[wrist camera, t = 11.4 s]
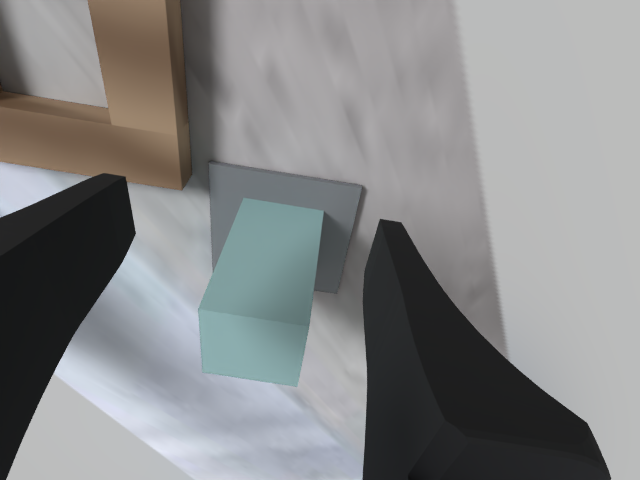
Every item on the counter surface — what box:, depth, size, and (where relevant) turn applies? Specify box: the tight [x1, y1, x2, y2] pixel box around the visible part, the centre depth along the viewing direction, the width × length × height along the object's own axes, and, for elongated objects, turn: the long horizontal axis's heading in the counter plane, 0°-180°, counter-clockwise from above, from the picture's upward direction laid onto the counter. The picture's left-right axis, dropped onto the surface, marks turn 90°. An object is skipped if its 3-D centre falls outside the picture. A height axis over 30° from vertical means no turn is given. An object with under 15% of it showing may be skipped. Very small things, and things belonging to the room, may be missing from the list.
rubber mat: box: [209, 161, 362, 294], centre depth 24 cm, size 8×8×1 cm
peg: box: [198, 198, 324, 387], centre depth 21 cm, size 4×4×8 cm
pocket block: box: [0, 0, 192, 190], centre depth 18 cm, size 12×12×2 cm
